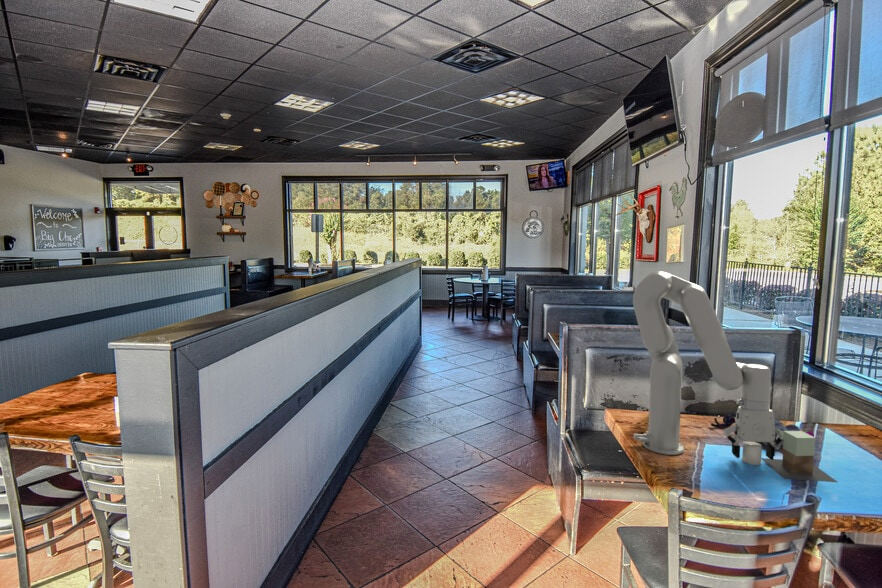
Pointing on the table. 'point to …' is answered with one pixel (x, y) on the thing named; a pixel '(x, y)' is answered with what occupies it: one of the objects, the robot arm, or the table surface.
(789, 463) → the block bottom
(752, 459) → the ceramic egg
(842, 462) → the table surface
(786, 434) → the block top
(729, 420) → the toy
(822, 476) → the mat
